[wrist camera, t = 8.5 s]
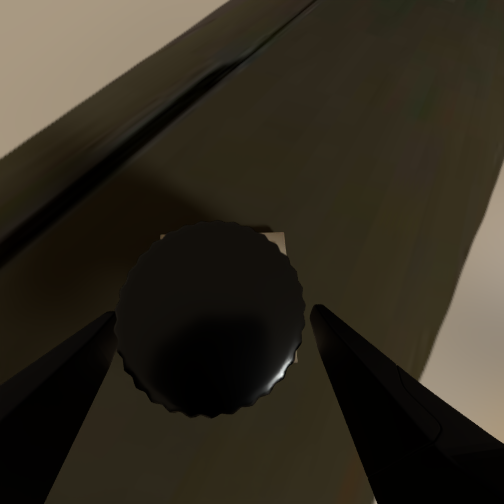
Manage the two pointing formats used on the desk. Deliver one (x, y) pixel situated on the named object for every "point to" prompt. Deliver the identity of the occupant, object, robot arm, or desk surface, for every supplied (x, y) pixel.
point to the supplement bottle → (209, 319)
